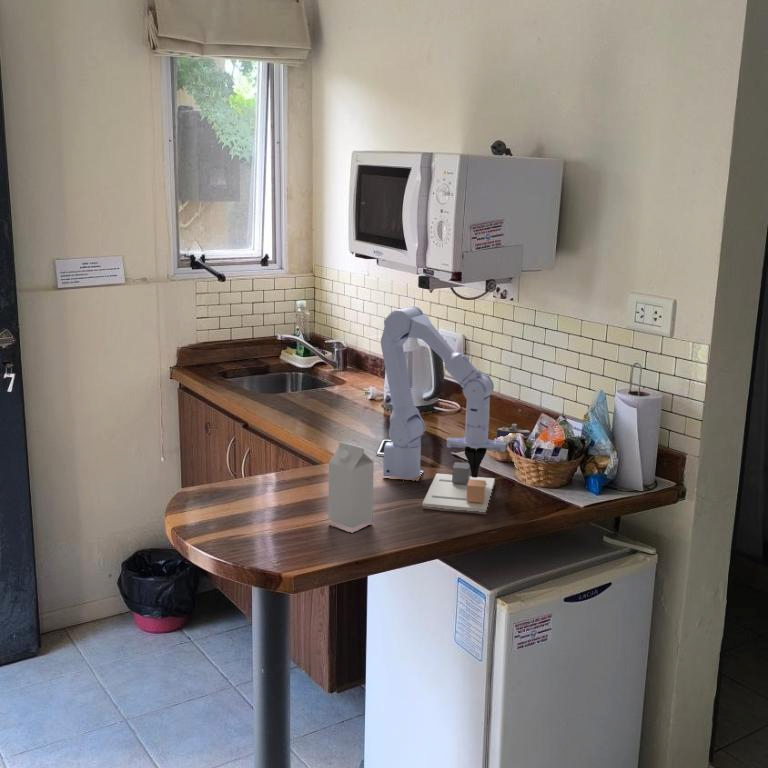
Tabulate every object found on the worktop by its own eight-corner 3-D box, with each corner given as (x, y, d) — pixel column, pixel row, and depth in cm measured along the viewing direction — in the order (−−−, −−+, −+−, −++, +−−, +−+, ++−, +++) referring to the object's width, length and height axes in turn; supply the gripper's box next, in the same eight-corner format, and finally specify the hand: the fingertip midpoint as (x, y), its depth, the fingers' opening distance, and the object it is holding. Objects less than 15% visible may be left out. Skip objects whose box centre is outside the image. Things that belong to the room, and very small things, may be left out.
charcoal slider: (452, 482, 230) (452, 467, 229) (454, 477, 234) (455, 462, 233) (468, 484, 229) (468, 468, 228) (470, 478, 233) (470, 463, 232)
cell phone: (375, 457, 256) (375, 454, 255) (382, 441, 270) (382, 438, 270) (403, 459, 255) (403, 455, 254) (408, 443, 269) (408, 440, 269)
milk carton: (349, 517, 211) (350, 438, 207) (372, 525, 207) (374, 444, 203) (328, 526, 206) (328, 445, 202) (351, 534, 202) (352, 451, 197)
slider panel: (422, 509, 217) (422, 502, 217) (436, 478, 238) (436, 473, 238) (485, 515, 214) (486, 508, 214) (494, 483, 235) (494, 478, 235)
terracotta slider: (466, 501, 217) (467, 485, 216) (468, 495, 222) (469, 479, 221) (483, 502, 217) (484, 486, 216) (485, 496, 221) (485, 480, 220)
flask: (529, 461, 254) (531, 423, 251) (528, 464, 251) (530, 426, 249) (495, 458, 256) (497, 421, 253) (494, 461, 253) (496, 424, 251)
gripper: (445, 426, 225) (443, 478, 228) (505, 430, 222) (502, 484, 225) (449, 418, 232) (447, 469, 235) (507, 423, 229) (504, 474, 232)
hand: (474, 476), depth 231 cm, fingers closed
